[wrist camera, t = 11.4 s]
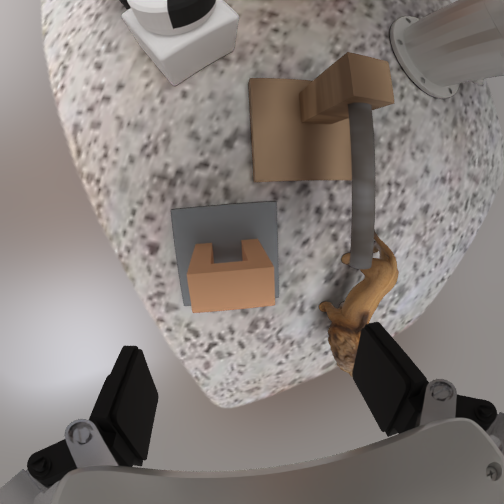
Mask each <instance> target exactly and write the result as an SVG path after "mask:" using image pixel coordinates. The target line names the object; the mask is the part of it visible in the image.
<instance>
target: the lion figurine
mask: <svg viewBox="0 0 504 504" xmlns="http://www.w3.org/2000/svg"><path fill="white" fill-rule="evenodd" d="M374 239H375V241H376V242H374V243H373V253H375V252H378V251H379V253H380V258H379V259H378V258H372V266H371V268H369V269H360V270H361V272H362V273H363V274H364V275H365V278H364V280H363V281H361V282H360V283H358V284H357V285H356V286H355V287H353V288H352V290H351V291H350V292H349V294H348V296H347V297H346V300H345V302H342V303H341V304H340V306H339V308H335V307H334V306H333V305H332V303H330V302H322V303H321V304H320V305H319V309H320V310H321V311H322V312H327V315H328V317H329V319H330V320H331V321H332V324H331V325H330V328H329V330H328V335H329V338H328V341H329V344H330V346H331V351H332V353H333V356H334V359H335V360H336V362H337V365H338V366H339V367H340V369H341V370H343V371H345V372H348V373H349V374H350V375H351V376H352V371H353V367H354V363H355V358H356V354H357V349H358V344H359V339H360V334H361V330H362V328H364V327H365V325H366V324H369V321H370V319H371V317H372V315H373V313H374V311H375V310H376V308H377V306H378V304H379V303H380V301H381V300H382V298H383V297H384V296H385V295H386V294H387V293H388V292H389V291H390V290H391V289H392V288H393V287H394V285H395V284H396V282H397V278H398V269H397V262H396V258H395V256H394V254H393V252H392V251H391V250H390V249H389V247H388V246H387V245H386V244H385V243H384V242H383V241H381V240H380V239H379V237H378V236H377V234H376V233H375V230H374ZM341 260H342V262H343V263H344V264H346V265H348V264H350V253H347V254H345V255H343V256H342V258H341Z"/></svg>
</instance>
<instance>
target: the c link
mask: <svg viewBox="0 0 504 504" xmlns="http://www.w3.org/2000/svg"><path fill="white" fill-rule="evenodd" d="M241 245H242V259H243V261H238V262H227V263H215V264H214V257H213V247H212V243H203V244H195V248H194V251H193V254H192V258H191V261H190V265H189V268H188V272H187V281H188V287H189V294H190V300H191V306H192V312H193V313H200V312H213V311H224V310H235V309H245V308H255V307H264V306H273V305H275V281H274V266H273V264H272V262H271V261H270V259H269V257H268V255H267V254H266V252H265V250H264V249H263V247H262V245H261V243H260V242H259V240H258V239H249V240H241Z"/></svg>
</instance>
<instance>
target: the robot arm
mask: <svg viewBox="0 0 504 504" xmlns="http://www.w3.org/2000/svg"><path fill="white" fill-rule="evenodd" d="M390 39H391V45H392V48H393V50H394V53H395V55H396V57H397V59H398V61H399V63H400V65H401V66H402V68H403V70H404V71H405V72H406V74H407V75H408V76H409V78H410V79H411V80H412V81H413V82H414V83H415V84H416V85H417V86H418V87H419V88H420V89H422V90H423V91H424V92H426V93H427V94H429V95H431V96H433V97H436V98H440V99H441V98H448V97H452V96H453V95H455V94H456V92H457V91H458V88H459V84H460V83H464V82H469V81H471V82H473V83H475V84H477V85H479V86H481V85H482V84H483V83H484V79H485V78H491V77H497V76H504V0H458V1H456V2H454V3H451V4H449V5H447V6H445V7H443V8H441V9H439V10H437V11H435V12H433V13H431V14H429V15H428V16H426V17H424V18H422V19H418V18H416V17H412V16H403V17H401V18H399V19H397V20H396V21H394V23H393V24H392V26H391V29H390ZM352 377H353V379H354V381H355V383H356V385H357V387H358V389H359V390H360V392H361V394H362V396H363V397H364V400H365V401H366V403H367V405H368V407H369V409H370V411H371V412H372V414H373V416H374V418H375V420H376V422H377V423H378V425H379V427H380V429H381V431H382V432H386V434H387V436H388V437H389V436H391V435H394V434H396V433H399V434H398V435H395V436H393V437H390V438H387V439H384V440H381V441H379V442H376V443H373V444H370V445H367V446H364V447H361V448H357V449H354V450H351V451H347V452H344V453H340V454H336V455H332V456H328V457H324V458H320V459H315V460H310V461H305V462H301V463H295V464H289V465H283V466H276V467H268V468H260V469H249V470H235V471H208V472H207V471H200V472H199V471H172V470H156V469H145V468H136V467H132V466H133V465H137V466H142V463H143V460H146V459H147V455H148V449H149V444H150V438H151V433H152V428H153V422H154V417H155V412H156V407H157V403H158V392H157V390H156V387H155V384H154V382H153V379H152V377H151V374H150V371H149V368H148V366H147V363H146V360H145V357H144V354H143V351H142V350H141V349H138V347H137V346H123V348H122V350H121V352H120V354H119V356H118V358H117V360H116V363H115V365H114V367H113V369H112V372H111V374H110V375H108V376H107V378H106V380H105V382H104V385H103V387H102V389H101V392H100V394H99V396H98V399H97V401H96V403H95V406H94V408H93V411H92V413H91V416H90V418H89V420H86V419H78V420H75V421H73V422H71V423H70V424H69V425H68V426H67V428H66V430H65V439H64V440H62V441H60V442H58V443H56V444H53V445H51V446H49V447H47V448H45V449H42V450H40V451H38V452H36V453H34V454H32V455H31V457H30V458H29V460H28V463H27V467H28V469H27V470H26V471H25V470H24V469H22V470H21V471H20V472H19V473H18V474H17V475H15V476H14V477H13V478H12V479H11V480H10V481H9V482H7V483H6V484H5V485H4V486H3V487H1V489H0V504H504V413H501V412H500V413H499V414H497V410H496V408H495V406H494V405H493V404H492V403H491V402H489V401H486V400H482V399H476V398H471V397H466V396H460V395H457V392H456V388H455V387H454V385H453V384H452V383H451V382H449V381H447V380H444V379H436V380H433V381H431V382H430V383H429V382H428V381H427V380H426V377H425V376H424V375H423V373H422V372H421V371H420V370H419V369H418V367H417V366H416V365H415V364H414V363H413V361H412V360H411V359H410V358H409V357H408V355H407V354H406V353H405V352H404V351H403V349H402V348H401V347H400V346H399V345H398V344H397V342H396V341H395V340H394V339H393V338H392V337H391V335H390V334H389V333H388V332H387V331H386V330H385V329H384V327H383V326H382V325H381V324H380V323H379V322H374V323H369V324H366V325H365V327H364V328H362V330H361V334H360V339H359V344H358V349H357V354H356V358H355V363H354V367H353V371H352Z"/></svg>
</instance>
